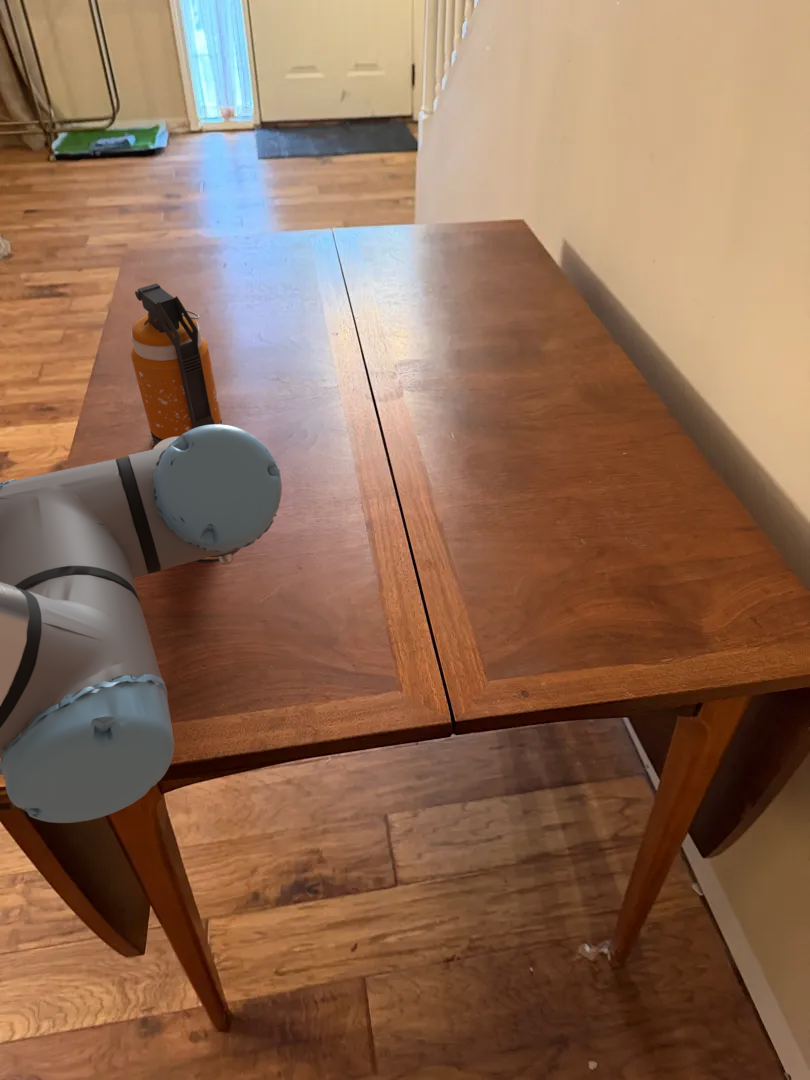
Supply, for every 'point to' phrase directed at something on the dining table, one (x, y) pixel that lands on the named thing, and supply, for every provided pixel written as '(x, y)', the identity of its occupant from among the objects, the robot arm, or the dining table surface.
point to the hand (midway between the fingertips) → (194, 538)
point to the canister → (172, 367)
